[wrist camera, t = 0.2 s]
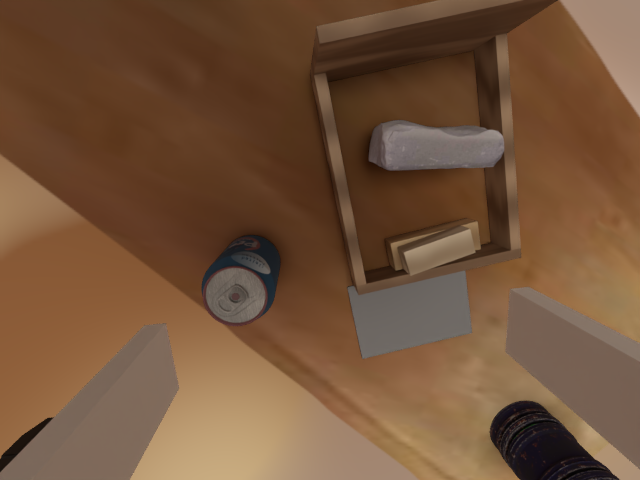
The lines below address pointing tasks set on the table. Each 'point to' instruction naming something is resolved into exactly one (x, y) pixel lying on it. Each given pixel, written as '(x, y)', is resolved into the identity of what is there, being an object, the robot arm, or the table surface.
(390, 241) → the block
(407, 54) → the wooden tray
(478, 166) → the stone block
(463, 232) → the offcut short
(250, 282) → the soda can
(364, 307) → the mat
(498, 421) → the storage jar
